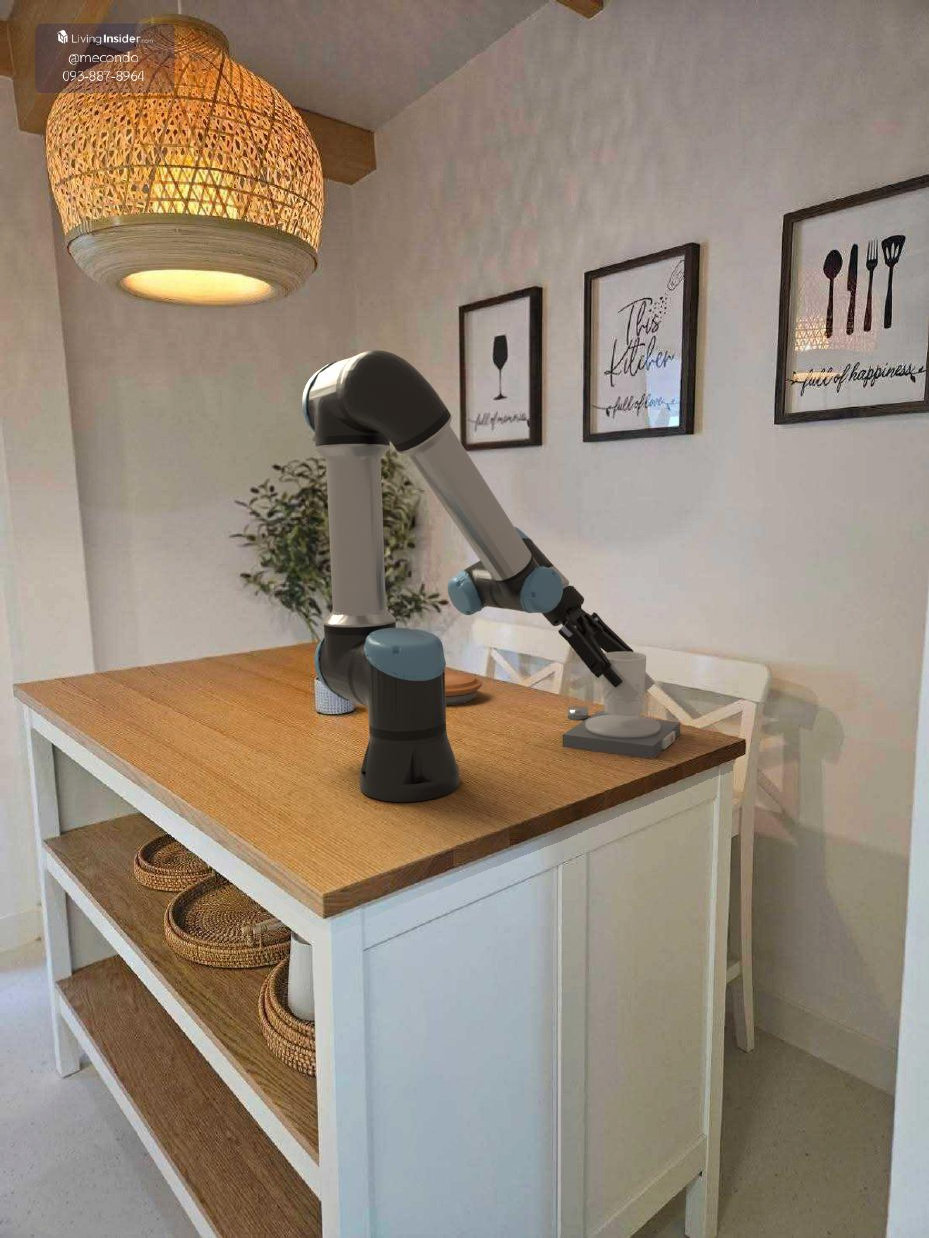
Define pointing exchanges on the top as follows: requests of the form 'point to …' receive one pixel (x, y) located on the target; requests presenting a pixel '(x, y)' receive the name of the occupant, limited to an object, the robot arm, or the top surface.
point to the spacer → (578, 713)
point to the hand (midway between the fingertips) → (642, 692)
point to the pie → (460, 688)
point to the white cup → (635, 673)
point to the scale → (622, 735)
